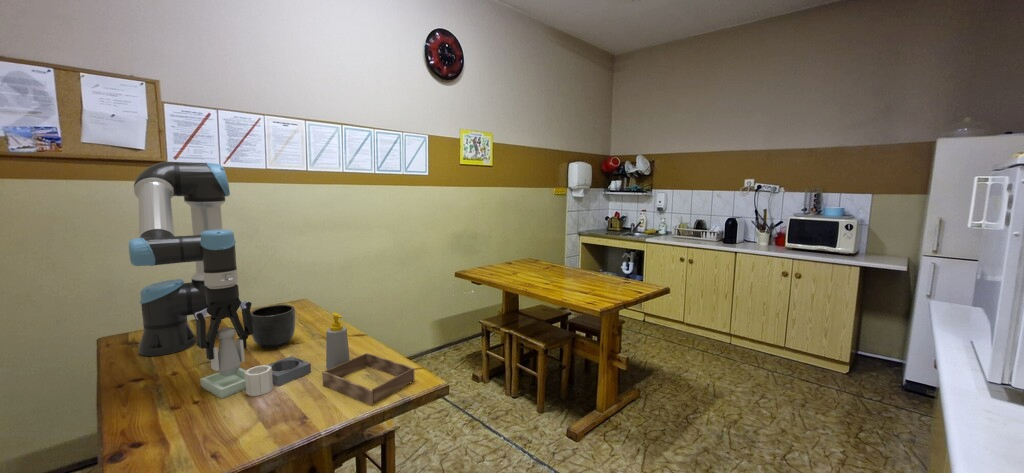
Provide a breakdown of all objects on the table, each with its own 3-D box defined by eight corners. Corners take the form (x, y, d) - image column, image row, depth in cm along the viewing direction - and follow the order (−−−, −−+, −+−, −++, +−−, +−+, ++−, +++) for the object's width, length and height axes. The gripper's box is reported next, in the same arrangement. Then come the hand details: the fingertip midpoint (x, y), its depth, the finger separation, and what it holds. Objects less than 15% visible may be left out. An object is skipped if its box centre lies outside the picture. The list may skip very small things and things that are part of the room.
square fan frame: (259, 377, 120) (258, 367, 119) (292, 364, 128) (291, 355, 128) (278, 386, 115) (277, 375, 114) (311, 372, 123) (310, 362, 123)
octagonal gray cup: (242, 392, 111) (241, 371, 111) (265, 383, 116) (263, 363, 116) (254, 398, 108) (252, 377, 107) (276, 388, 113) (275, 368, 113)
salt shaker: (228, 378, 111) (224, 333, 109) (211, 376, 112) (207, 331, 110) (246, 369, 117) (243, 326, 115) (230, 367, 118) (226, 324, 116)
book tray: (322, 385, 116) (322, 371, 115) (367, 364, 129) (367, 352, 128) (371, 405, 105) (371, 391, 105) (414, 381, 118) (414, 368, 118)
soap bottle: (332, 376, 121) (329, 319, 119) (322, 369, 126) (319, 313, 123) (354, 368, 126) (352, 313, 124) (344, 362, 131) (341, 309, 128)
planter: (300, 336, 153) (298, 303, 151) (292, 350, 140) (290, 314, 138) (258, 340, 148) (255, 306, 147) (246, 355, 135) (243, 318, 134)
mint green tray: (201, 387, 114) (200, 378, 114) (237, 373, 122) (237, 366, 122) (221, 398, 108) (220, 390, 107) (258, 384, 116) (258, 375, 116)
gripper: (187, 295, 101) (195, 381, 104) (264, 280, 117) (269, 356, 120) (174, 291, 105) (182, 374, 108) (250, 277, 121) (256, 350, 124)
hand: (228, 364), depth 114 cm, fingers closed on salt shaker, 6 cm apart
